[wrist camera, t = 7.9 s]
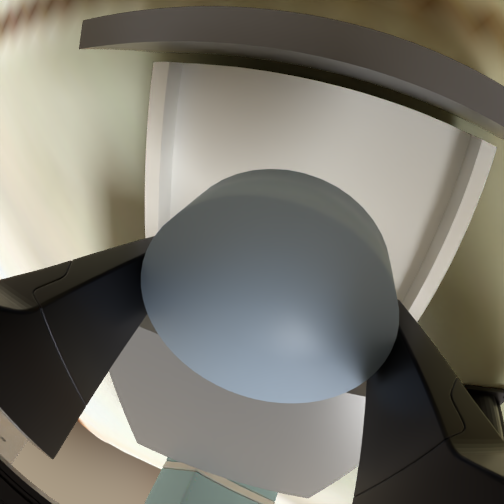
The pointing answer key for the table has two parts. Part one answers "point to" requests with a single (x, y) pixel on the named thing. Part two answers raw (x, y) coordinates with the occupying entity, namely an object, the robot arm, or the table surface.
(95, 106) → the table surface
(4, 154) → the table surface
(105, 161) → the table surface
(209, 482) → the radio
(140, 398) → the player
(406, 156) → the grey white drawer
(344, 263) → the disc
